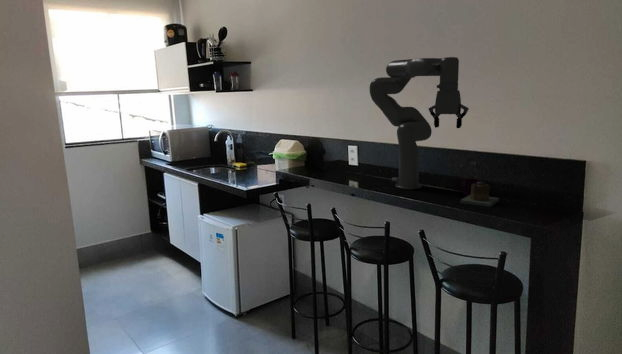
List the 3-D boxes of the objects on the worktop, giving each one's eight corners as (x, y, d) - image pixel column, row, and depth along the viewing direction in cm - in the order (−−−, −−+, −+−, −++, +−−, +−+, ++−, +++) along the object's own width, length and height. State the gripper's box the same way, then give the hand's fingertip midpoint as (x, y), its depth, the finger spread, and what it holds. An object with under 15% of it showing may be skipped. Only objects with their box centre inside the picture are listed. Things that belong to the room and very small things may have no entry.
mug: (472, 197, 192) (473, 182, 190) (454, 193, 200) (455, 178, 199) (482, 195, 195) (483, 180, 194) (464, 191, 203) (465, 176, 202)
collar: (469, 199, 183) (469, 185, 182) (474, 196, 188) (475, 182, 187) (485, 201, 179) (485, 187, 178) (490, 198, 184) (491, 184, 183)
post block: (460, 202, 183) (461, 183, 181) (470, 197, 192) (471, 178, 191) (490, 206, 176) (491, 186, 174) (499, 200, 185) (500, 181, 183)
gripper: (425, 88, 190) (425, 127, 193) (465, 86, 179) (464, 128, 182) (433, 87, 195) (432, 126, 199) (472, 86, 185) (470, 127, 188)
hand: (447, 127), depth 190 cm, fingers open, 9 cm apart
